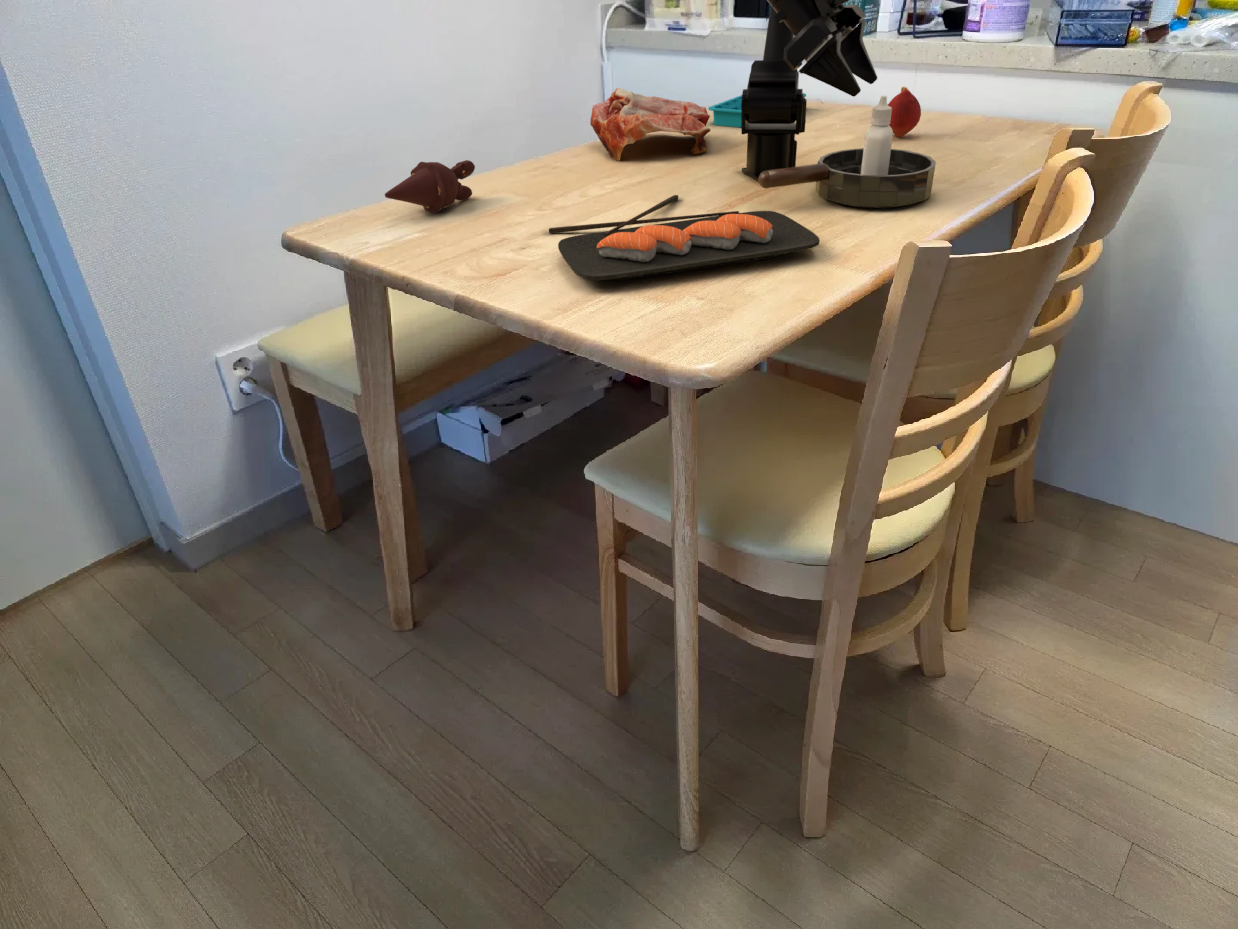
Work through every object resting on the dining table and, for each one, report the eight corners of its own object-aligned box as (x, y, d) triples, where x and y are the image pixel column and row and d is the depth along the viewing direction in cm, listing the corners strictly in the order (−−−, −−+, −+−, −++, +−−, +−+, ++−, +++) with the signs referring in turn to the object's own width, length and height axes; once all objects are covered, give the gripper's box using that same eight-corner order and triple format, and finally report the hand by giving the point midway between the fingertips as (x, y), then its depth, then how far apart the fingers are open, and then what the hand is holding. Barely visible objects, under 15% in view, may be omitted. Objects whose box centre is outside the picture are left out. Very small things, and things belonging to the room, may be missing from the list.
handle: (762, 190, 107) (763, 173, 106) (755, 186, 109) (755, 169, 108) (832, 181, 110) (834, 164, 108) (824, 177, 111) (826, 160, 110)
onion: (913, 133, 143) (920, 82, 139) (920, 140, 138) (928, 89, 134) (879, 133, 144) (885, 84, 139) (884, 141, 139) (891, 90, 134)
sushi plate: (582, 296, 88) (579, 262, 86) (528, 217, 112) (525, 189, 110) (828, 259, 94) (832, 225, 92) (727, 191, 118) (727, 164, 116)
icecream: (403, 180, 106) (491, 166, 116) (369, 158, 109) (458, 146, 119) (401, 230, 111) (486, 212, 120) (368, 208, 114) (454, 192, 124)
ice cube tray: (705, 125, 156) (705, 108, 154) (755, 105, 169) (755, 89, 168) (760, 130, 150) (761, 112, 148) (807, 109, 163) (809, 93, 162)
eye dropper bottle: (846, 190, 114) (855, 97, 107) (873, 183, 116) (884, 91, 110) (870, 197, 111) (882, 101, 104) (898, 189, 113) (911, 95, 107)
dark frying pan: (851, 217, 106) (855, 181, 103) (796, 187, 118) (799, 155, 116) (953, 202, 109) (959, 167, 107) (890, 175, 121) (894, 143, 119)
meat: (659, 128, 155) (658, 70, 150) (739, 145, 141) (741, 81, 135) (569, 148, 145) (564, 86, 140) (644, 168, 131) (642, 101, 125)
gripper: (818, -61, 93) (903, 50, 95) (858, -67, 107) (932, 30, 109) (749, 17, 101) (828, 118, 103) (794, 2, 115) (864, 91, 116)
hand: (866, 87), depth 107 cm, fingers open, 9 cm apart
